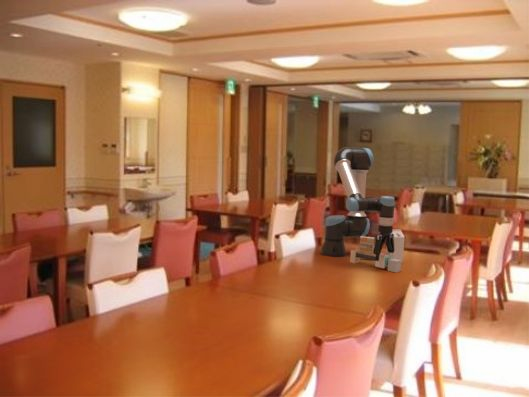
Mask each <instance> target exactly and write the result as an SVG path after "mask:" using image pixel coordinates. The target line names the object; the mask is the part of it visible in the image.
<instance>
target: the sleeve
mask: <svg viewBox="0 0 529 397" xmlns="http://www.w3.org/2000/svg"><path fill="white" fill-rule="evenodd" d="M380 255H381V261H380V267H379V268H380V269H385V268H386V267H387V268H388V265H386V264H385V260H386V258H387V257H389V258H391V254H386V252H381V253H380Z"/></svg>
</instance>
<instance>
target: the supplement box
mask: <svg viewBox="0 0 529 397" xmlns="http://www.w3.org/2000/svg"><path fill="white" fill-rule="evenodd" d="M375 242H376V236H375V237H371V236H361V237H359V245H358V246H359V248H358V250H360V254H365V255H370V256H374V255H375V254H374V253H373V251H374V247H375ZM360 260H367V261H369V260H368V259H363V258H360Z"/></svg>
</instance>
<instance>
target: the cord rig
mask: <svg viewBox="0 0 529 397" xmlns="http://www.w3.org/2000/svg"><path fill="white" fill-rule="evenodd" d="M349 256H350V258H349V259H350V260H349V263H350V264H353V265H354V264H359V263H360V261H361V259H360V258H363V259H362V260H365V259H368V260H367V261H372V262H375V258H376V255H373V256H370V255H365V254H360V250H359V249H354V250H353V249H350V255H349ZM385 264H386V265H388V267H387V272H392V273H399V272H401V269H402V262H401V260H398V259H391V258H389V257H387V258H386V260H385Z"/></svg>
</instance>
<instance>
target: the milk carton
mask: <svg viewBox="0 0 529 397" xmlns="http://www.w3.org/2000/svg"><path fill="white" fill-rule="evenodd" d="M390 234H394V238H393V239H394V249H395V250H394V253H392V258H391V259H398V260H401V263H403V262H404V250H405V249H404V248H405V235H404V233H403V232H402V229H401V228H396V229H394V228H393V232H392V233H390ZM385 246H386V245H385ZM392 249H393V248H392ZM387 252H388V250H387V246H386V248H385V254H387Z"/></svg>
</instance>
